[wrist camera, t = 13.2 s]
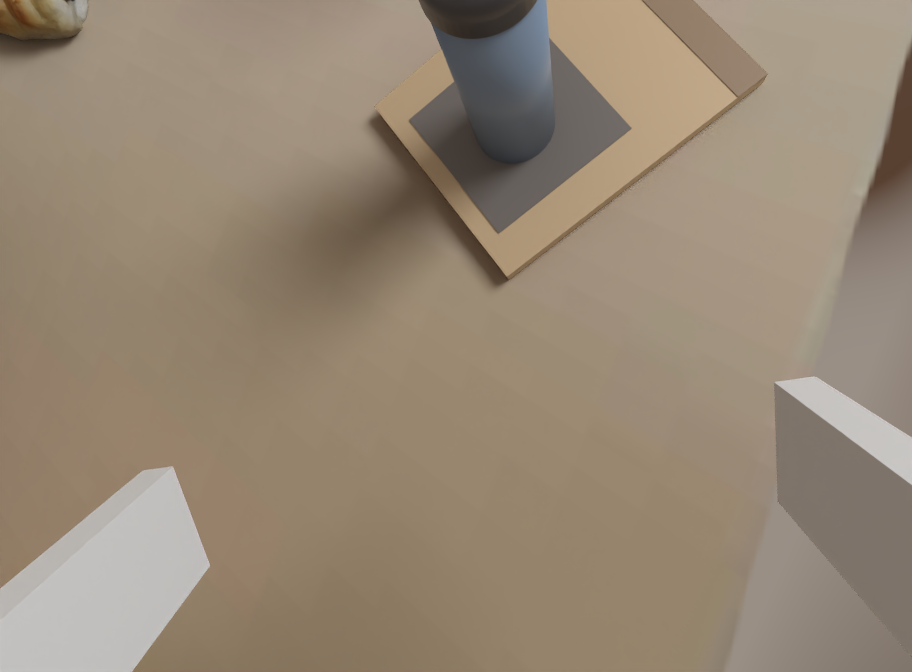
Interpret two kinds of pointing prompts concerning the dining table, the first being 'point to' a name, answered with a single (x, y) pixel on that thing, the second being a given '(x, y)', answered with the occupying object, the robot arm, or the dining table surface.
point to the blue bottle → (500, 71)
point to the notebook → (577, 119)
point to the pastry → (42, 18)
